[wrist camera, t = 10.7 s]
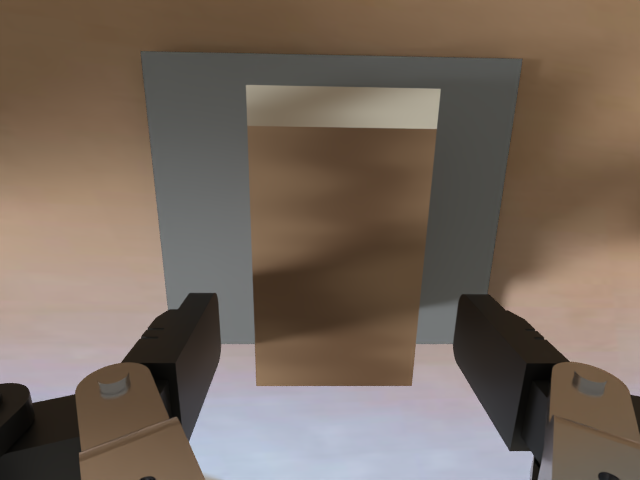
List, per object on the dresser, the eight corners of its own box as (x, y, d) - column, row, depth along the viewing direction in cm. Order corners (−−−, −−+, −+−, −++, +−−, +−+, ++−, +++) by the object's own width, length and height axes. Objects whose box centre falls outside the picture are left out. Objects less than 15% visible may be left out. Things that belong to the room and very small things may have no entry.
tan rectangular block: (256, 385, 13) (246, 84, 10) (271, 313, 17) (266, 96, 15) (411, 385, 13) (440, 88, 10) (384, 313, 18) (398, 98, 15)
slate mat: (178, 332, 19) (171, 344, 18) (151, 55, 15) (140, 51, 14) (471, 332, 19) (479, 344, 18) (509, 62, 16) (522, 58, 15)
